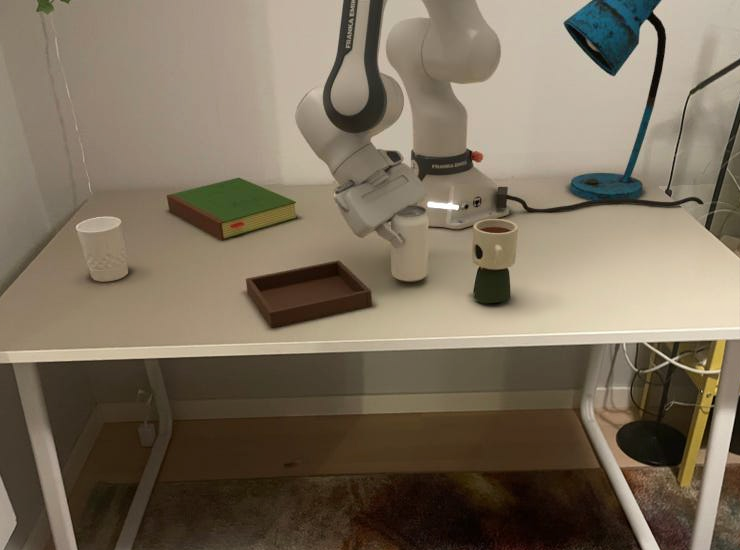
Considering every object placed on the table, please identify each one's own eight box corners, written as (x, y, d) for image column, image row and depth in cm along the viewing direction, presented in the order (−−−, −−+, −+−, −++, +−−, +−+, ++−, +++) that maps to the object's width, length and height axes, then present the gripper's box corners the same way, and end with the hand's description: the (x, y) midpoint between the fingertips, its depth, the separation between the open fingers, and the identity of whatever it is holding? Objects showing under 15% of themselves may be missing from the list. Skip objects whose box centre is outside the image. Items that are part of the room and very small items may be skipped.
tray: (340, 274, 137) (339, 260, 136) (371, 306, 126) (371, 291, 124) (247, 293, 132) (245, 278, 130) (271, 328, 120) (269, 312, 119)
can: (425, 283, 130) (425, 217, 124) (388, 281, 131) (387, 216, 125) (429, 268, 135) (430, 204, 129) (394, 266, 137) (394, 203, 131)
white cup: (92, 287, 136) (79, 235, 131) (85, 271, 142) (72, 221, 137) (135, 277, 139) (125, 226, 134) (126, 263, 145) (116, 213, 140)
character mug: (467, 285, 131) (469, 214, 125) (507, 284, 131) (512, 213, 124) (473, 314, 122) (477, 239, 115) (517, 313, 122) (523, 238, 115)
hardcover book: (169, 211, 170) (166, 195, 168) (240, 192, 180) (238, 177, 178) (223, 241, 153) (221, 224, 151) (299, 219, 163) (297, 202, 161)
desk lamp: (540, 183, 179) (558, -28, 156) (629, 177, 180) (660, -33, 157) (560, 205, 165) (583, -23, 142) (657, 199, 166) (695, -28, 143)
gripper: (339, 179, 119) (392, 248, 120) (404, 148, 134) (451, 209, 134) (318, 202, 124) (369, 268, 124) (383, 170, 139) (429, 229, 139)
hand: (412, 237), depth 129 cm, fingers closed on can, 6 cm apart
